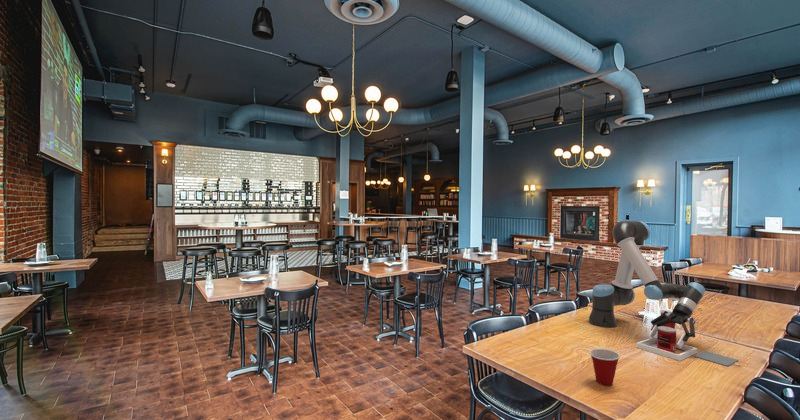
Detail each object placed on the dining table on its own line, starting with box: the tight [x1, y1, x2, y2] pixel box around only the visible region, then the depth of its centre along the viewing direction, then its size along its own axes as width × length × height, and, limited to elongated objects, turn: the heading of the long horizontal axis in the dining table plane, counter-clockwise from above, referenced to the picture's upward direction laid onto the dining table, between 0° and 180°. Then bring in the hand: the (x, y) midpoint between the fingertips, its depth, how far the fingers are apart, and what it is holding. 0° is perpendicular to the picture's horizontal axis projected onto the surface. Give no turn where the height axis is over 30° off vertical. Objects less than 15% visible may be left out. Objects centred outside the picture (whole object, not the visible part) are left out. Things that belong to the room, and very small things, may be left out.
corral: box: [636, 336, 698, 362], centre depth 188 cm, size 19×19×2 cm
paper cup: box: [660, 308, 676, 330], centre depth 212 cm, size 8×8×14 cm
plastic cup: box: [589, 348, 621, 387], centre depth 151 cm, size 11×11×12 cm
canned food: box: [656, 326, 677, 354], centre depth 188 cm, size 8×8×11 cm
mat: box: [692, 350, 739, 368], centre depth 178 cm, size 13×13×1 cm
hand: (664, 341), depth 187 cm, fingers open, 13 cm apart
